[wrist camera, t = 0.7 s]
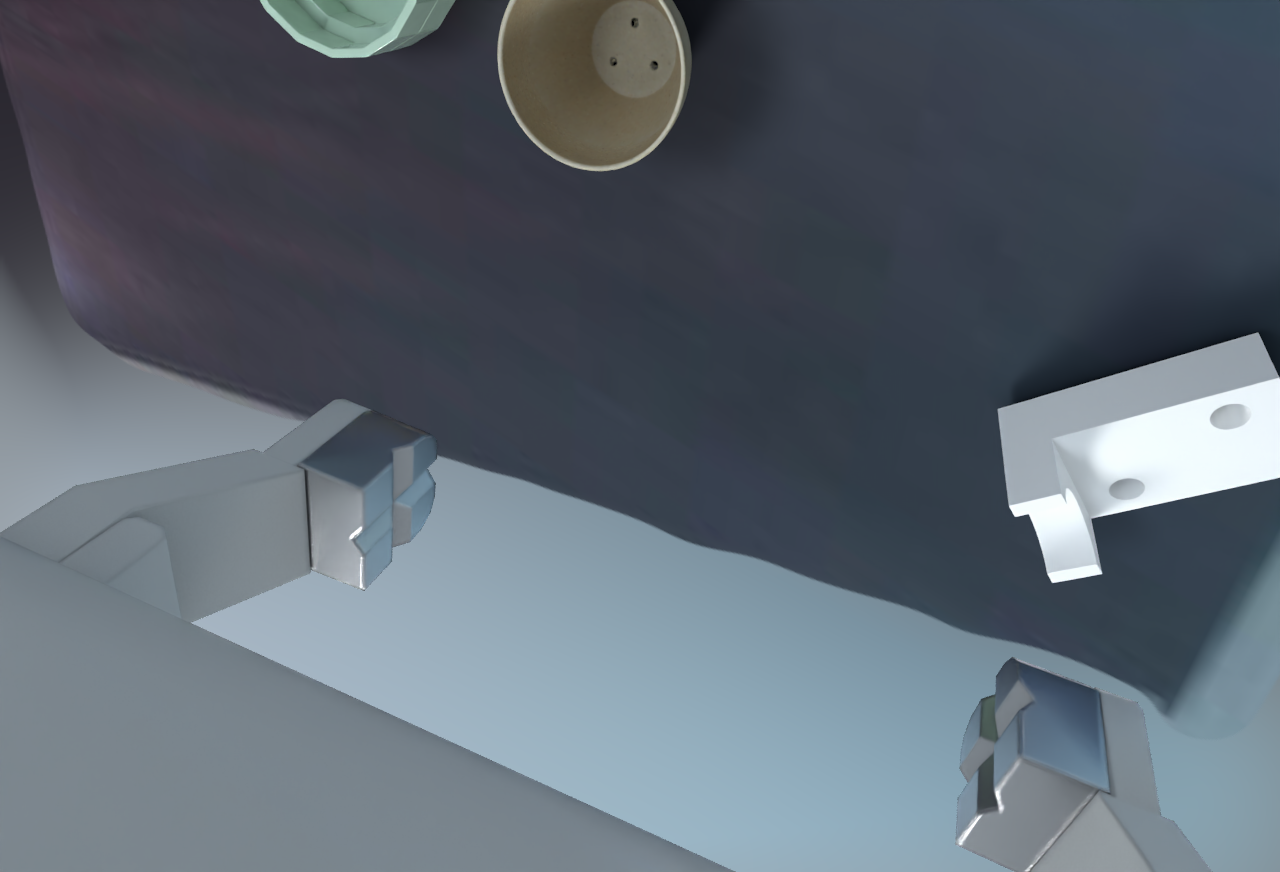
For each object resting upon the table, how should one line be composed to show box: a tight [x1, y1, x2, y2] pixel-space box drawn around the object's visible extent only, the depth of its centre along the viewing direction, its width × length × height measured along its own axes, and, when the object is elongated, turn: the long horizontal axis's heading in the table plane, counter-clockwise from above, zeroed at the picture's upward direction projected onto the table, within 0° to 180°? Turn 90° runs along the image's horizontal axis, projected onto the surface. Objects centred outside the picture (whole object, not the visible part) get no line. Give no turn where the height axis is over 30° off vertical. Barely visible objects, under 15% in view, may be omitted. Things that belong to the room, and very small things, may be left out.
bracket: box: [998, 332, 1280, 583], centre depth 47 cm, size 13×7×8 cm, turn 122°
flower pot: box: [498, 0, 692, 171], centre depth 46 cm, size 10×10×7 cm
